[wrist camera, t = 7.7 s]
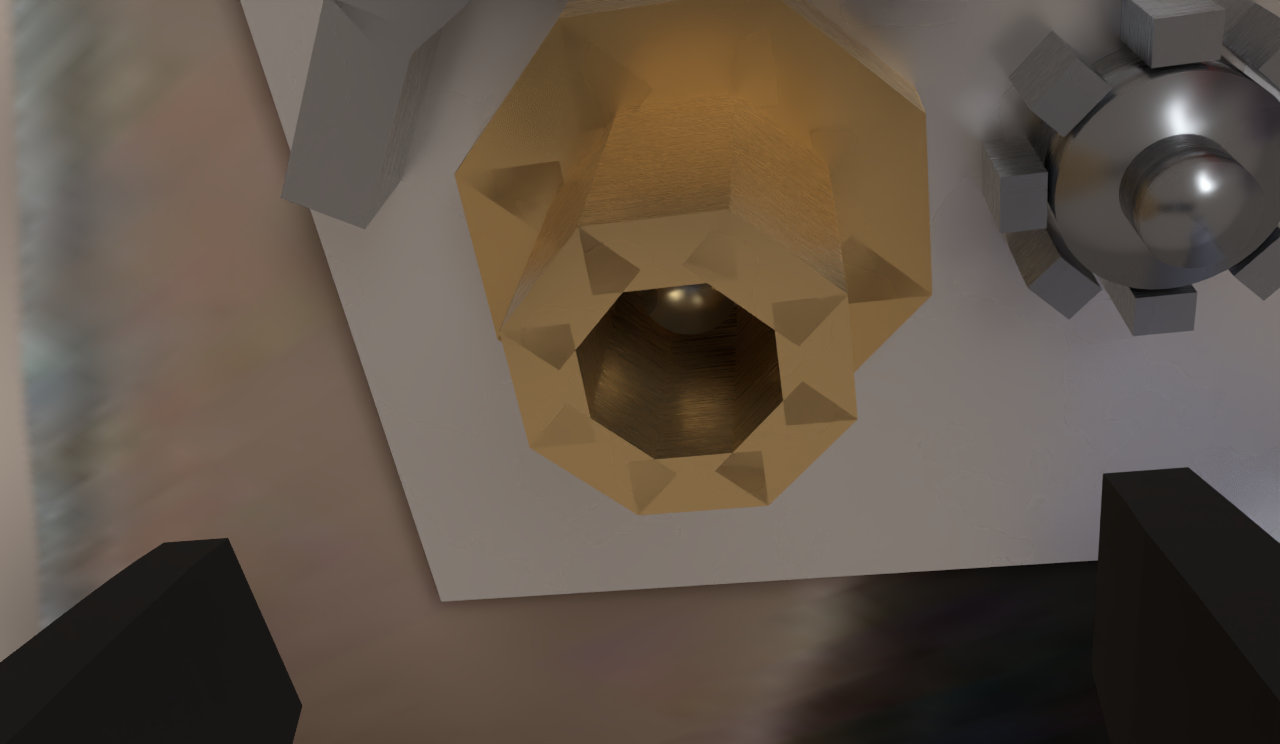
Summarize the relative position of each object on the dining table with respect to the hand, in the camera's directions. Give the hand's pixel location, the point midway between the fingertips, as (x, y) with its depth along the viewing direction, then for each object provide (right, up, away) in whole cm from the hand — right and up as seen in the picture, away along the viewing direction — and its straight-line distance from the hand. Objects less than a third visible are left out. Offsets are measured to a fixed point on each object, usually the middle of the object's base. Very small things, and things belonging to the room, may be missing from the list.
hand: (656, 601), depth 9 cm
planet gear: (+1, +4, +7) cm, 9 cm away
